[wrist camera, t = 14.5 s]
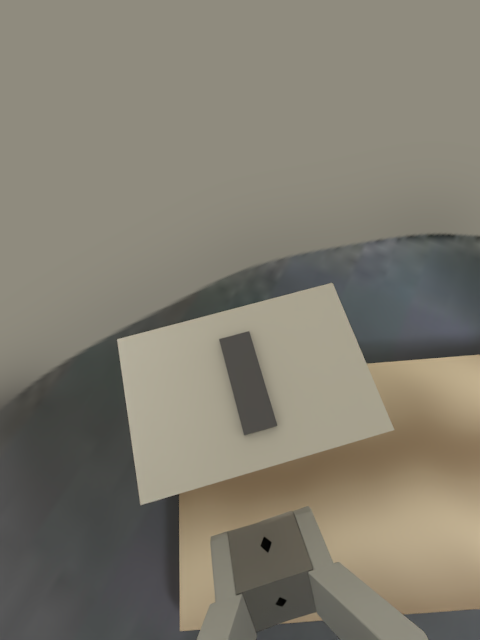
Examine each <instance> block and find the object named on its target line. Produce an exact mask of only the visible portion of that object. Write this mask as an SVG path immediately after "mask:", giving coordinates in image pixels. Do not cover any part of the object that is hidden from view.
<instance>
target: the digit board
mask: <svg viewBox="0 0 480 640" xmlns="http://www.w3.org/2000/svg"><path fill="white" fill-rule="evenodd" d="M367 366H368V368H369V371H370V373H371V375H372V378H373V380H374V383H375V385H376V387H377V390H378V392H379V394H380V397H381V399H382V402H383V404H384V406H385V409H386V411H387V413H388V416H389V418H390V421H391V423H392V425H393V428H394V430H393V431H390V432H386V433H383V434H379V435H376V436H373V437H369V438H366V439H363V440H359V441H356V442H352V443H349V444H346V445H342V446H339V447H336V448H332V449H329V450H325V451H322V452H319V453H315V454H312V455H309V456H305V457H302V458H298V459H295V460H292V461H288V462H285V463H281V464H278V465H275V466H271V467H268V468H265V469H261V470H258V471H254V472H251V473H248V474H244V475H241V476H238V477H234V478H231V479H227V480H224V481H221V482H217V483H214V484H211V485H207V486H204V487H200V488H197V489H194V490H190V491H187V492H184V493H180V494H179V564H180V631H189V630H200V629H201V627H202V624H203V621H204V619H205V616H206V614H207V611H208V608H209V606H210V604H212V603H214V602H215V591H214V580H213V569H212V557H211V546H210V541H211V536H214V535H217V534H220V533H223V532H227V531H231V530H234V529H237V528H241V527H244V526H247V525H251V524H254V523H257V522H261V521H262V520H265V519H268V518H271V517H274V516H277V515H280V514H283V513H286V512H289V511H292V512H293V511H294V510H297V509H300V508H303V507H306V506H309V507H310V508H311V509H312V512H313V514H314V517H315V519H316V522H317V524H318V526H319V529H320V531H321V534H322V536H323V538H324V541H325V543H326V546H327V548H328V551H329V553H330V555H331V558H332V560H333V563H336V562H340V563H341V564H342V565H343V566H345V567H346V568H347V569H348V570H349V571H351V572H352V573H353V574H354V575H356V576H357V577H358V578H359V579H360V580H362V581H363V582H364V583H365V584H366V585H368V586H369V587H370V588H371V589H373V590H374V591H375V592H376V593H377V594H379V595H380V596H381V597H382V598H383V599H385V600H386V601H387V602H388V603H390V604H391V605H392V606H393V607H394V608H396V609H397V610H398V611H399V612H400V613H402V614H403V615H404V614H417V613H431V612H444V611H457V610H471V609H480V355H469V356H456V357H444V358H431V359H418V360H406V361H393V362H381V363H368V364H367ZM310 621H323V620H322V619H321V618H320V616H319V615H318V614H317V612H315V613H312V614H309V615H305V616H302V617H299V618H295V619H292V620H289V621H286V622H283V623H297V622H310ZM283 623H280V624H283Z"/></svg>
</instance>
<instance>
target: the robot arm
mask: <svg viewBox="0 0 480 640" xmlns="http://www.w3.org/2000/svg"><path fill="white" fill-rule="evenodd" d="M210 546H211V557H212V569H213V580H214V591H215V602H214V603H212V604H210V606H209V608H208V611H207V614H206V616H205V619H204V621H203V624H202V627H201V629H200V632H199V634H198V637H197V640H256V637H257V634H256V632H259V631H262V630H264V629H267V628H270V627H272V626H275V625H278V624H280V623H283V622H286V621H289V620H292V619H295V618H299V617H302V616H305V615H309V614H312V613H315V612H317V614H318V615H319V616H320V618H321V619H322V620H323V621H324V622H325V623H326V624H327V625H328V626H329V628H330V629H331V630H332V631H333V632H334V633H335V634H336V635H337V636H338V638H339V639H340V640H428V638H427V636H426V634H425V632H423V631H422V630H421V629H420V628H419V627H417V626H416V625H415V624H414V623H413V622H411V621H410V620H409V619H408V618H407V617H405V616H404V615H403V614H402V613H400V612H399V611H398V610H397V609H396V608H394V607H393V606H392V605H391V604H390V603H388V602H387V601H386V600H385V599H383V598H382V597H381V596H380V595H379V594H377V593H376V592H375V591H374V590H373V589H371V588H370V587H369V586H368V585H366V584H365V583H364V582H363V581H362V580H360V579H359V578H358V577H357V576H356V575H354V574H353V573H352V572H351V571H349V570H348V569H347V568H346V567H345V566H343V565H342V564H341V563H340V562H336V563H333V560H332V558H331V555H330V553H329V551H328V548H327V546H326V543H325V541H324V538H323V536H322V534H321V531H320V529H319V526H318V524H317V522H316V519H315V517H314V514H313V512H312V509H311V508H310V507H309V506H306V507H303V508H300V509H297V510H294V511H293V512H292V511H289V512H286V513H283V514H280V515H277V516H274V517H271V518H268V519H265V520H262V521H261V522H257V523H254V524H251V525H247V526H244V527H241V528H237V529H234V530H231V531H227V532H223V533H220V534H217V535H214V536H211V541H210Z"/></svg>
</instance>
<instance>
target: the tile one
mask: <svg viewBox="0 0 480 640" xmlns="http://www.w3.org/2000/svg"><path fill="white" fill-rule="evenodd" d="M117 342H118V350H119V357H120V364H121V371H122V378H123V385H124V392H125V399H126V406H127V413H128V420H129V427H130V434H131V441H132V448H133V456H134V463H135V470H136V477H137V484H138V491H139V498H140V505H143V504H146V503H150V502H153V501H156V500H160V499H163V498H167V497H170V496H173V495H177V494H180V493H184V492H187V491H190V490H194V489H197V488H200V487H204V486H207V485H211V484H214V483H217V482H221V481H224V480H227V479H231V478H234V477H238V476H241V475H244V474H248V473H251V472H254V471H258V470H261V469H265V468H268V467H271V466H275V465H278V464H281V463H285V462H288V461H292V460H295V459H298V458H302V457H305V456H309V455H312V454H315V453H319V452H322V451H325V450H329V449H332V448H336V447H339V446H342V445H346V444H349V443H352V442H356V441H359V440H363V439H366V438H369V437H373V436H376V435H379V434H383V433H386V432H390V431H393V430H394V428H393V425H392V423H391V421H390V418H389V416H388V413H387V411H386V409H385V406H384V404H383V402H382V399H381V397H380V394H379V392H378V390H377V387H376V385H375V383H374V380H373V378H372V375H371V373H370V371H369V368H368V366H367V364H366V361H365V359H364V356H363V354H362V352H361V349H360V347H359V345H358V342H357V340H356V337H355V335H354V333H353V330H352V328H351V326H350V323H349V321H348V318H347V316H346V314H345V311H344V309H343V307H342V304H341V302H340V299H339V297H338V295H337V292H336V290H335V288H334V285H333V283H329V284H325V285H322V286H318V287H314V288H310V289H306V290H303V291H299V292H295V293H291V294H287V295H284V296H280V297H276V298H272V299H268V300H265V301H261V302H257V303H253V304H249V305H246V306H242V307H238V308H234V309H230V310H227V311H223V312H219V313H215V314H211V315H208V316H204V317H200V318H196V319H192V320H189V321H185V322H181V323H177V324H173V325H170V326H166V327H162V328H158V329H154V330H151V331H147V332H143V333H139V334H135V335H132V336H128V337H124V338H120V339H117Z"/></svg>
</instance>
